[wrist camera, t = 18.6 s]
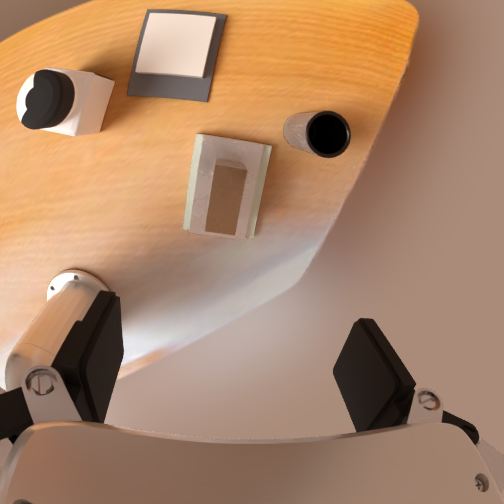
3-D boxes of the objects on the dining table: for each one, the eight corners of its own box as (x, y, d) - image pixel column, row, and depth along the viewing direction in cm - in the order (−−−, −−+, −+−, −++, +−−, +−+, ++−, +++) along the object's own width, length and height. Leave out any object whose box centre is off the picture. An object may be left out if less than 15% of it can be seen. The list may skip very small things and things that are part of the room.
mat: (206, 102, 32) (206, 102, 32) (127, 95, 31) (126, 95, 30) (226, 15, 28) (226, 14, 27) (147, 10, 26) (147, 9, 26)
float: (244, 238, 39) (248, 259, 33) (189, 230, 37) (184, 250, 32) (262, 144, 34) (271, 148, 28) (203, 134, 33) (200, 136, 27)
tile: (202, 76, 29) (216, 17, 26) (135, 71, 28) (150, 13, 25) (202, 78, 31) (216, 21, 28) (138, 73, 29) (152, 17, 26)
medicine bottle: (116, 80, 30) (74, 65, 19) (100, 133, 32) (53, 141, 21) (71, 73, 28) (20, 61, 17) (56, 124, 31) (2, 130, 20)
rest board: (252, 235, 40) (252, 239, 39) (183, 226, 38) (182, 229, 37) (270, 145, 35) (271, 145, 34) (197, 133, 34) (196, 133, 33)
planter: (281, 147, 35) (303, 155, 26) (284, 111, 34) (307, 107, 24) (316, 150, 36) (348, 160, 27) (319, 115, 34) (353, 114, 25)
